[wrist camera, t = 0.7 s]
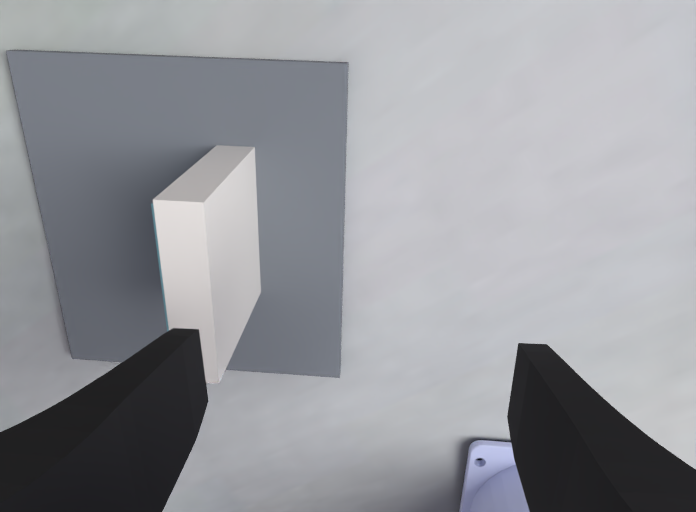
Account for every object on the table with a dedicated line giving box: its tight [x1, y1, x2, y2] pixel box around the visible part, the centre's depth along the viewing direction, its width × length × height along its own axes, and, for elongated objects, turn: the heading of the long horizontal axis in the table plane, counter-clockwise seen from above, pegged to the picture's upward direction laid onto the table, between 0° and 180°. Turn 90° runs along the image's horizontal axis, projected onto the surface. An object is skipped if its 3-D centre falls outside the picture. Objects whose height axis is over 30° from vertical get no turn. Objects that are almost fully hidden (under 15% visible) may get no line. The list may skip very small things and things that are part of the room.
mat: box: [6, 50, 348, 378], centre depth 23 cm, size 13×12×1 cm
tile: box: [151, 145, 261, 384], centre depth 19 cm, size 6×2×6 cm, turn 178°
